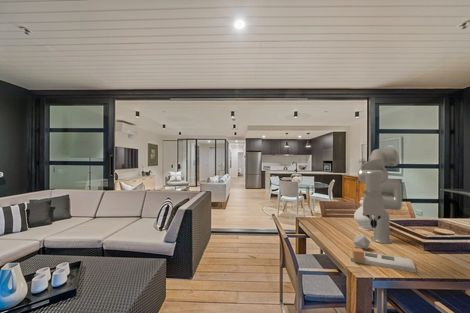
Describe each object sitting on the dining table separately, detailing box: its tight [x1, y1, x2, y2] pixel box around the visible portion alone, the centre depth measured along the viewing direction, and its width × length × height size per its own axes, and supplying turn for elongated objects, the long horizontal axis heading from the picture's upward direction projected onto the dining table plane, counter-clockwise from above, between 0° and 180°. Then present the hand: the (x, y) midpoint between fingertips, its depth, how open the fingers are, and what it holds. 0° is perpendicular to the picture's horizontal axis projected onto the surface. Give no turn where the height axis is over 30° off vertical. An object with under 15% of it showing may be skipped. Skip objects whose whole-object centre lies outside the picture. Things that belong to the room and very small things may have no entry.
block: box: [351, 247, 365, 261], centre depth 131 cm, size 5×5×4 cm
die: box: [352, 234, 371, 250], centre depth 151 cm, size 8×9×10 cm
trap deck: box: [350, 251, 417, 273], centre depth 131 cm, size 13×29×2 cm, turn 62°
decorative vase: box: [353, 196, 373, 231], centre depth 195 cm, size 18×18×25 cm
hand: (373, 227), depth 130 cm, fingers closed
